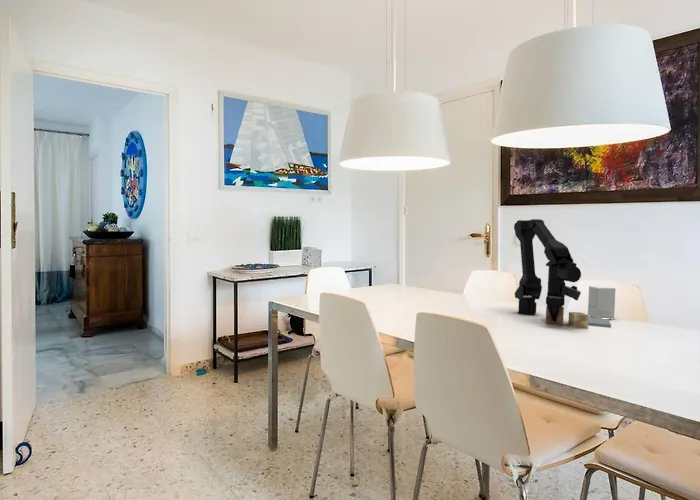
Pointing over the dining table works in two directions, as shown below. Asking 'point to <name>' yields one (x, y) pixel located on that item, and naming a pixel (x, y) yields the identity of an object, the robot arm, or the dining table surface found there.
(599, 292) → the supplement box
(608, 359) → the dining table surface
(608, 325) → the plate
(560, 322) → the walnut cube
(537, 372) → the dining table surface
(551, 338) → the dining table surface
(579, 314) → the oak cube
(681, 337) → the dining table surface
